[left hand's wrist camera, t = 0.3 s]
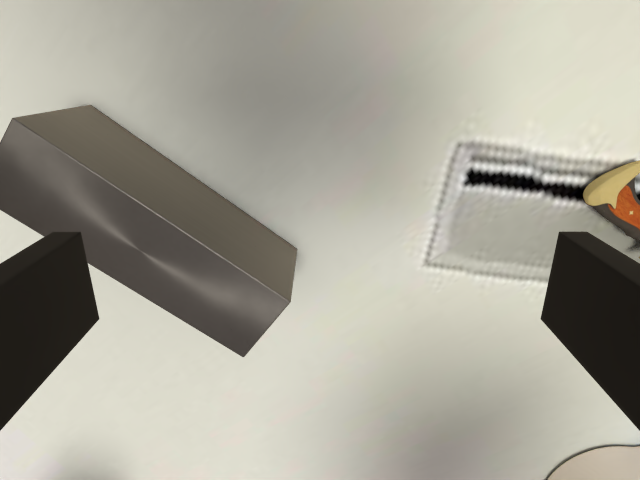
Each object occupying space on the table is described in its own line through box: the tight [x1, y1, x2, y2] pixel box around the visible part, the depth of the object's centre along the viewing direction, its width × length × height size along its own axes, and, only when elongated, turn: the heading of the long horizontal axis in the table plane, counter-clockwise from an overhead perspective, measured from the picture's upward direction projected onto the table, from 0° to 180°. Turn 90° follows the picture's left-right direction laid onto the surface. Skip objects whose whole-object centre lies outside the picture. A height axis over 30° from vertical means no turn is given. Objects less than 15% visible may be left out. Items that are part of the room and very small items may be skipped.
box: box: [0, 105, 297, 357], centre depth 35 cm, size 21×6×10 cm, turn 53°
